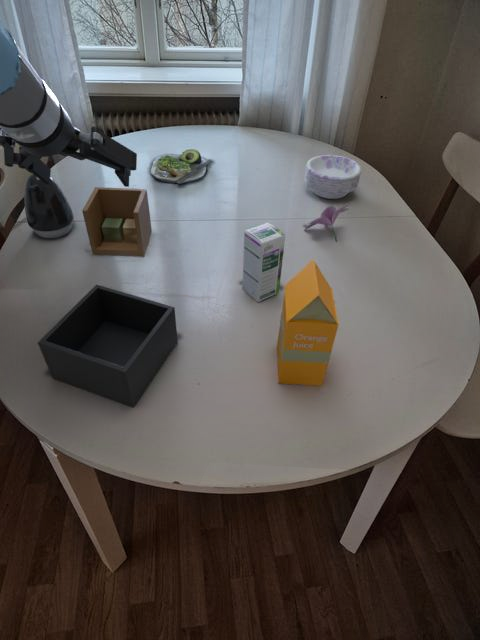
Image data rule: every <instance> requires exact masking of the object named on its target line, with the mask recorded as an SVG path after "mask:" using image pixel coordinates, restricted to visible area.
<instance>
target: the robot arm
mask: <svg viewBox="0 0 480 640" xmlns="http://www.w3.org/2000/svg"><path fill="white" fill-rule="evenodd" d="M16 144H17V145H18V146H19V147H18V152H15V148H16ZM0 145H1V147H2V148H3V158H4V162H3V163H4V166H6V167H8V168H13V167H14V165H17V166H18V168H20V169H22V170H24V169H25V170H26V171H27V172H29V173H30V174H32V173H33V174H34V175H35V176H36V177H38V178H39V179H40V180H41V181H43V182H44V183H45V184H50V177H51V174H52V173H51V172H52V171H51V170H52V169H51V168H50V166H48V165H47V163H45V162H44V161H43V160H42V159H43V158H48V157H52V156H56V155H60V156H63V157H70V158H73V159H76V160H79V161H84V160H88V161H91V162H94V163H97V164H99V165H101V166H104V167H107V168H110V169H113V170H114V174H115V175H116V177H117V178H118V179H119V181H120V182H121V184H122V185H123V186H124V188H129V187H130V177H131V175H132V171H133V172H134V171H136V170H137V167H138V166H137V164H138V163H137V162H138V161H137V160H138V154H137V152H134V151H133V150H131V149H129V148H128V147H127V146H125V145H124V144H122V143H120V142H119V141H117V140H115V139H114V138H112V137H110V136H108V135H107V134H105V133H104V132H103V129H101V128H100V127H99V126H91V127H90V132H82V131H81V130H80V129H79V128H77V127H75V126H74V125H73V121H72V120H71V117H70V116H69V113H68V112H67V111H66V110H65V108H64V107H63V105H62V104H61V103H60V102H59V100H58V99H57V97H56V95H55V94H54V93H53V91H52V90H51V89H50V87H49V86H48V85H47V84H46V82H45V81H44V80H43V78H42V77H41V76H40V75H39V73H38V72H37V71H36V70H35V68H34V67H33V65H32V63H30V61H29V59H28V58H27V57H26V55H25V54H24V52H23V50H21V48H20V47H19V46H18V44H17V42H16V40H15V38H14V37H13V35H12V34H11V32H10V31H9V30H8V29H7V28H6V26H5V25H4V24H3V22H2V21H1V20H0ZM78 150H79V151H78Z"/></svg>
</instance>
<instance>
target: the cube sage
mask: <svg viewBox="0 0 480 640" xmlns="http://www.w3.org/2000/svg"><path fill="white" fill-rule="evenodd" d="M123 225H124V224H123V219H120V218H105V221H104V223H103V225H102V231H103V236H104V241H105V242H122V240H123V237H124V233H123Z"/></svg>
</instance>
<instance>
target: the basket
mask: <svg viewBox="0 0 480 640" xmlns="http://www.w3.org/2000/svg"><path fill="white" fill-rule="evenodd" d="M176 320H177V319H176V309H175V306H173V305H169V304H165V303H162V302H159V301H155V300H151V299H148V298H145V297H141V296H138V295H134V294H131V293H127V292H124V291H120V290H117V289H114V288H111V287H107V286H103V285H101V284H97V283H96V284H95V285H94V286H93V287H92V288H91V289H90V290H89V291H87V293H86V294H85V295H84V296H82V298H81V299H80V300H78V302H77V303H76V304H75V305H74V306H73V307H72V308H71V309H69V311H68V312H67V313H66V314H65V315H63V317H61V319H60V320H59V321H58V322H56V324H54V326H53V327H52V328H51V329H49V331H48V332H46V334H45V335H43V337H41V339H39V340H38V342H37V345H38V347H39V349H40V352H41V354H42V357H43V359H44V362H45V364H46V366H47V369H48V371H49V373H50V376H51V378H52V379H53V380H56V381H58V382H62V383H64V384H66V385H70V386H73V387H75V388H77V389H81V390H84V391H85V392H86V391H87V392H89V393H92V394H95V395H97V396H101V397H103V398H106V399H108V400H112V401H114V402H116V403H120V404H122V405H125V406H128V407H130V408H135V406H136V405H137V404H138V402H139V400H140V399H141V398H142V396H143V395H144V393H145V392H146V391H147V389H148V387H149V386H150V384H151V383H152V381H153V380H154V378H155V377H156V375H157V374H158V372H159V371H160V370H161V368H162V366H163V365H164V364H165V362H166V361H167V359H168V358H169V356H170V355H171V353H172V352H173V350H174V349H175V347H176V346H175V344H176V343H177V341H178V331H177V321H176ZM178 342H179V341H178ZM177 344H178V343H177ZM177 344H176V345H177ZM174 346H175V347H174ZM173 348H174V349H173ZM172 349H173V350H172ZM171 351H172V352H171ZM170 352H171V353H170ZM169 354H170V355H169ZM168 355H169V356H168ZM167 357H168V358H167ZM166 358H167V359H166ZM164 361H165V362H164ZM162 364H163V365H162ZM160 367H161V368H160ZM158 370H159V371H158ZM156 373H157V374H156ZM154 376H155V377H154ZM150 382H151V383H150ZM148 385H149V386H148ZM146 388H147V389H146Z"/></svg>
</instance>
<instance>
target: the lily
mask: <svg viewBox="0 0 480 640" xmlns="http://www.w3.org/2000/svg"><path fill="white" fill-rule="evenodd" d="M349 205H351V203H348V204H345V205H342V206H341V207H339V208H337V207H335V206H334V205H329V206H327V207H326V208H324V209H323V210H322V212H321V213H320V217H318V218H315V219H314V220H311V221H310V222H308V223H307V224H308V225H307V226H306V227H305V228H304V231H307V229H310V228H311V227H313V226H316V225H322V226H327V227H331V229H332V232H333V236H334V239H335V243H337V242H338V240H337V235H336V231H335V227H334V224H335V222H336V220H337V218H338V216H339V215H340V214H341V213H343V212H346V211H348V210H349V207H348V206H349Z"/></svg>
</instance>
